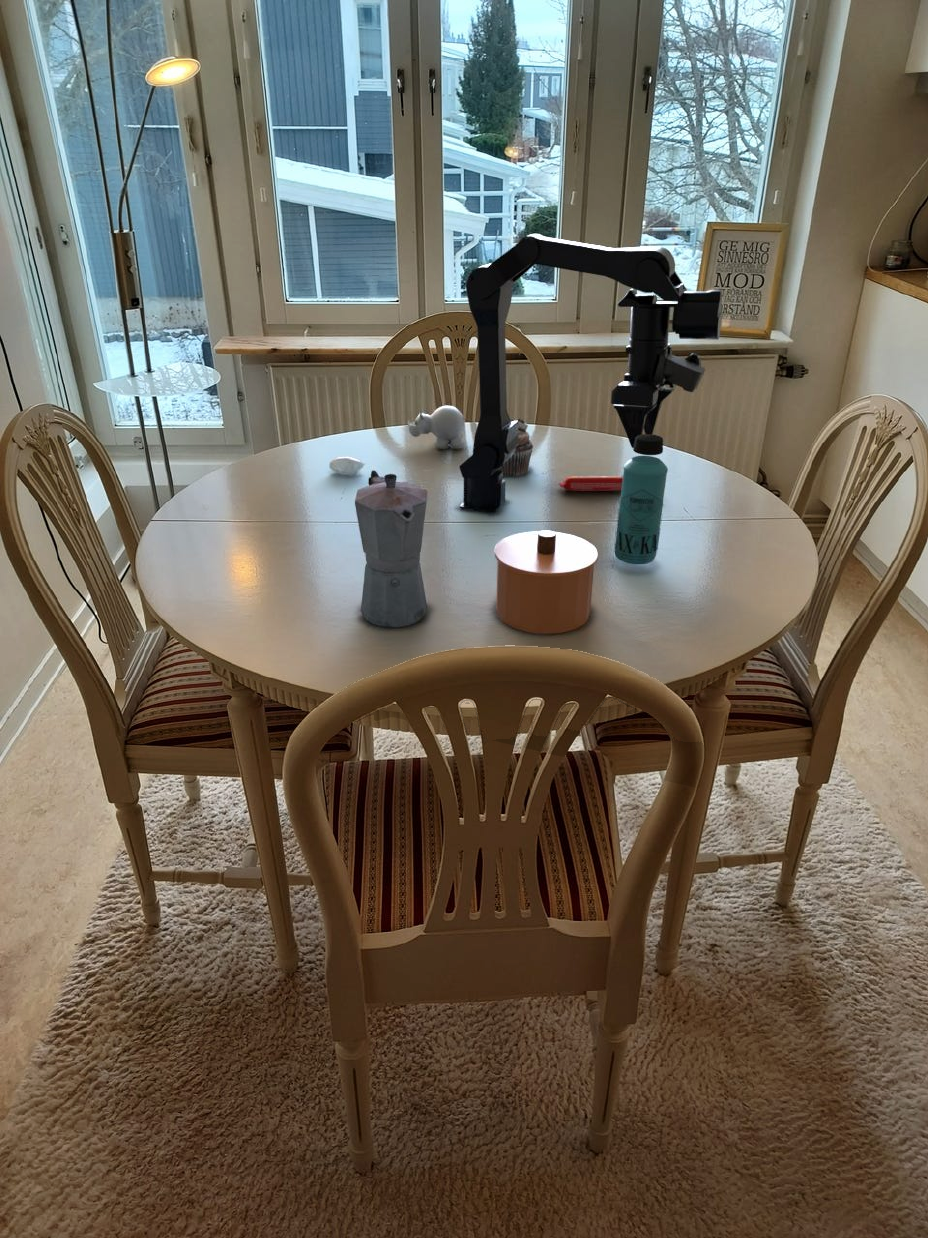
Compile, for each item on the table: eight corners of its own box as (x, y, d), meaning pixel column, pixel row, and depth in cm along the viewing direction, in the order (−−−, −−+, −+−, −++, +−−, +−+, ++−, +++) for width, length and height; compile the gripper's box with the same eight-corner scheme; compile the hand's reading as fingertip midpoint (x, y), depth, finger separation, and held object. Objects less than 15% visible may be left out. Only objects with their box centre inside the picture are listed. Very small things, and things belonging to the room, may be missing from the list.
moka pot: (381, 645, 109) (374, 496, 100) (339, 595, 121) (329, 458, 112) (448, 628, 113) (448, 483, 103) (401, 582, 125) (396, 448, 115)
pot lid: (479, 571, 110) (480, 545, 108) (512, 532, 121) (513, 508, 120) (583, 588, 106) (585, 561, 104) (607, 546, 117) (609, 522, 115)
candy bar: (642, 487, 161) (644, 472, 159) (647, 494, 157) (648, 478, 156) (557, 488, 160) (558, 472, 159) (560, 494, 157) (560, 479, 156)
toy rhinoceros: (409, 440, 186) (408, 401, 182) (464, 441, 186) (464, 401, 182) (406, 451, 179) (405, 410, 175) (464, 451, 179) (464, 411, 175)
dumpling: (330, 481, 164) (325, 460, 163) (333, 477, 169) (329, 457, 168) (366, 474, 164) (361, 453, 162) (368, 470, 169) (364, 450, 167)
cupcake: (474, 472, 168) (474, 421, 163) (498, 459, 175) (500, 410, 170) (517, 481, 163) (519, 429, 159) (540, 467, 171) (543, 417, 166)
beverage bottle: (608, 556, 133) (620, 429, 124) (649, 555, 134) (665, 429, 124) (618, 574, 128) (631, 443, 118) (661, 573, 128) (678, 442, 118)
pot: (483, 623, 114) (484, 565, 110) (513, 584, 125) (515, 530, 120) (575, 641, 110) (580, 581, 106) (598, 599, 121) (603, 543, 117)
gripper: (691, 348, 119) (682, 459, 125) (713, 332, 134) (704, 431, 141) (612, 345, 123) (607, 453, 130) (642, 330, 138) (637, 427, 145)
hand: (642, 441), depth 136 cm, fingers open, 9 cm apart
